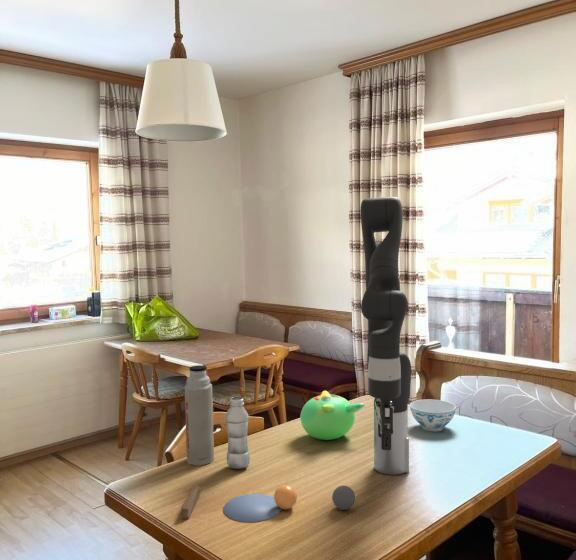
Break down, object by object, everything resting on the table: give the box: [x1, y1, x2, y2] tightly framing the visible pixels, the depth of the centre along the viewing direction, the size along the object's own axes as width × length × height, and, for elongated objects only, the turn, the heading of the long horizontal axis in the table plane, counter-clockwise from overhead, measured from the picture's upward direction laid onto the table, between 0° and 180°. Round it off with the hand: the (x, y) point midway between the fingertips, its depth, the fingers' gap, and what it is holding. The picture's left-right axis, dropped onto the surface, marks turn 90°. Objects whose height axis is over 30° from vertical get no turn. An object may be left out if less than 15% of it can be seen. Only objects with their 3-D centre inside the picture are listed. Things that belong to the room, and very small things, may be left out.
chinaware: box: [409, 398, 457, 432], centre depth 191 cm, size 15×15×8 cm
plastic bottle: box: [225, 396, 251, 470], centre depth 161 cm, size 6×7×20 cm
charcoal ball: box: [331, 485, 356, 511], centre depth 136 cm, size 6×6×6 cm
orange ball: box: [273, 484, 298, 510], centre depth 136 cm, size 6×6×6 cm
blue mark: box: [223, 493, 282, 523], centre depth 137 cm, size 14×14×1 cm
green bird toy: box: [299, 390, 365, 441], centre depth 183 cm, size 18×17×15 cm
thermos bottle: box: [184, 364, 215, 466], centre depth 166 cm, size 8×8×28 cm
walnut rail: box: [181, 485, 201, 520], centre depth 138 cm, size 2×12×2 cm, turn 177°
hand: (384, 443), depth 134 cm, fingers open, 8 cm apart
